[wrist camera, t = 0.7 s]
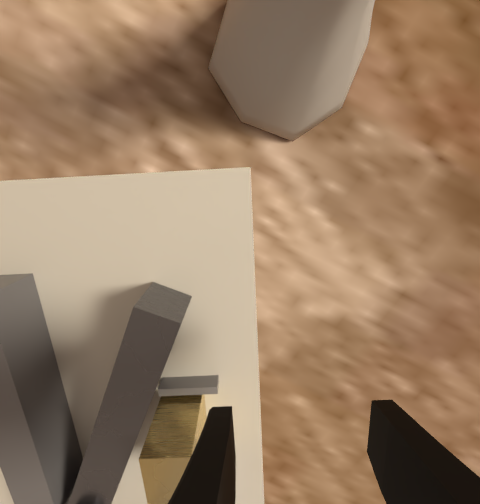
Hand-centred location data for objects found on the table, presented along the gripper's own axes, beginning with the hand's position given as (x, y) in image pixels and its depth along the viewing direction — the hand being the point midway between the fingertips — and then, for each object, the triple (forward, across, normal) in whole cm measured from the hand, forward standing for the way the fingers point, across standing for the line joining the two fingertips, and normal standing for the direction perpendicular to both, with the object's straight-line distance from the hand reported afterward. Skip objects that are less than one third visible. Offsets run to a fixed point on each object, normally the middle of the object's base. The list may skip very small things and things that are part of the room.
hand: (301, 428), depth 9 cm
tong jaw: (+8, +9, +5) cm, 13 cm away
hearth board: (+9, +11, +4) cm, 15 cm away
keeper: (+8, +6, +7) cm, 12 cm away
